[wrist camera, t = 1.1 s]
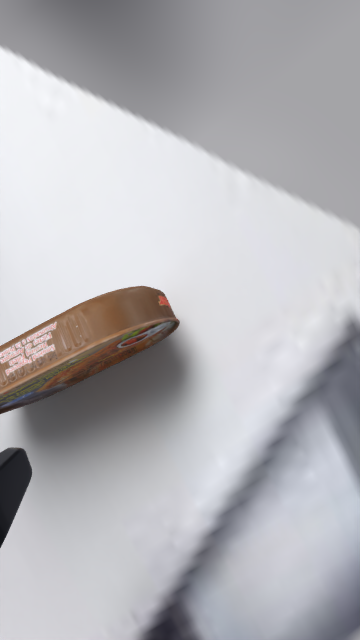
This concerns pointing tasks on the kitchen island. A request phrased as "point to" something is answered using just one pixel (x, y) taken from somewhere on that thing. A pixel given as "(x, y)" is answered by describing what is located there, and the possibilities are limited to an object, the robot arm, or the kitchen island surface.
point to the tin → (82, 343)
